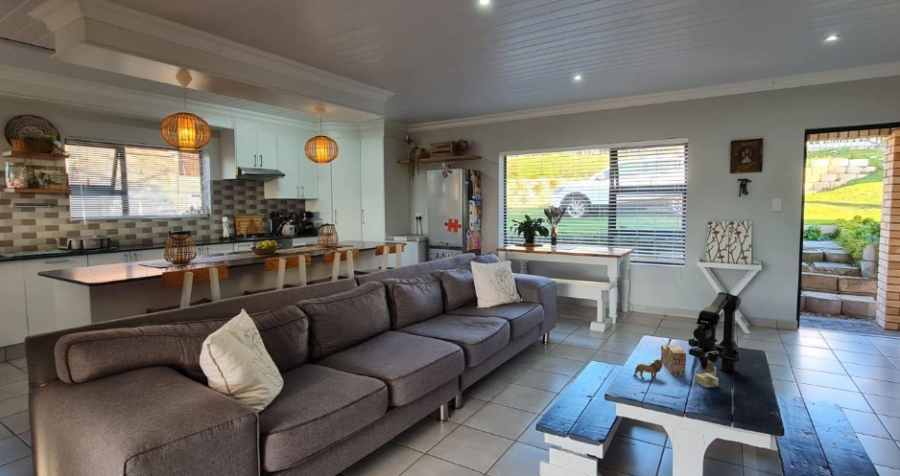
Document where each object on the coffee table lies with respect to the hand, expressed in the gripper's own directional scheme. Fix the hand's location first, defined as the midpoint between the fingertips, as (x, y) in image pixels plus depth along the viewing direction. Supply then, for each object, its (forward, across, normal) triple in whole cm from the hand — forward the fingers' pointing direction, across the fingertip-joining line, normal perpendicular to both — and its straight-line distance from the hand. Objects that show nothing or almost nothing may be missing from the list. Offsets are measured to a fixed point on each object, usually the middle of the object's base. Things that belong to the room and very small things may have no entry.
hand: (707, 368), depth 216 cm
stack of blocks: (+8, -1, -21) cm, 22 cm away
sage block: (+8, -11, -7) cm, 15 cm away
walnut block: (+1, 0, 0) cm, 1 cm away
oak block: (+8, 0, 0) cm, 8 cm away
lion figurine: (+8, +20, -17) cm, 27 cm away
